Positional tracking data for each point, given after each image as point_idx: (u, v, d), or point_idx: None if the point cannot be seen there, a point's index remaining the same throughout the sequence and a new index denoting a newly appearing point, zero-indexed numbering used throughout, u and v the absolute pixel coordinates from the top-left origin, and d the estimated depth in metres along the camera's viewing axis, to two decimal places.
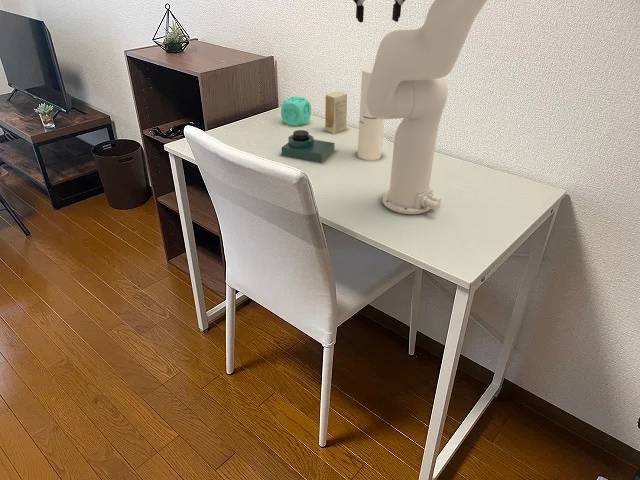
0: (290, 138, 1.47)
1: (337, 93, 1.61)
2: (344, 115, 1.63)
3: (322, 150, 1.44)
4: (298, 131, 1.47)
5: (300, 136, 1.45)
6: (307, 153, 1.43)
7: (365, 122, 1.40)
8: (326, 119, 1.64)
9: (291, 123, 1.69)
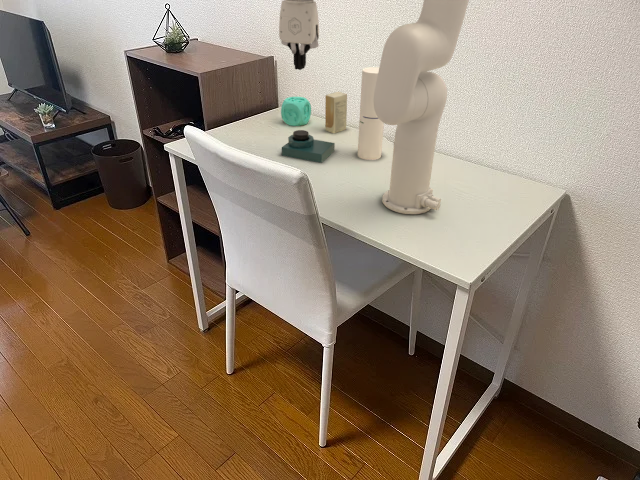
0: (290, 138, 1.47)
1: (337, 93, 1.61)
2: (344, 115, 1.63)
3: (322, 150, 1.44)
4: (298, 131, 1.47)
5: (300, 136, 1.45)
6: (307, 153, 1.43)
7: (365, 122, 1.40)
8: (326, 119, 1.64)
9: (291, 123, 1.69)
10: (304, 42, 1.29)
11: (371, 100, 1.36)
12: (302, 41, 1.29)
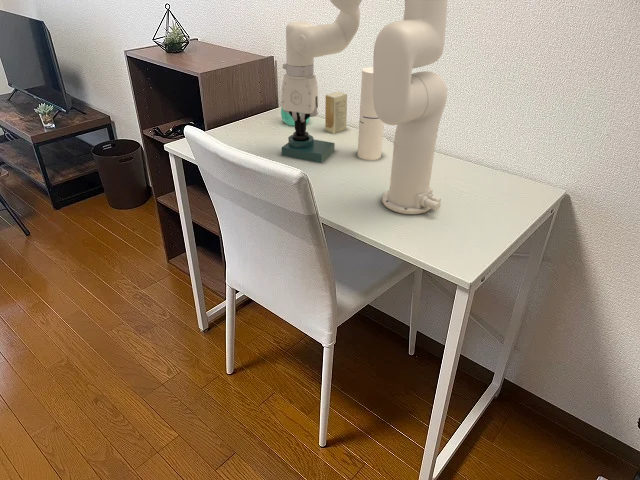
0: (290, 138, 1.47)
1: (337, 93, 1.61)
2: (344, 115, 1.63)
3: (322, 150, 1.44)
4: None
5: (300, 136, 1.45)
6: (307, 153, 1.43)
7: (365, 122, 1.40)
8: (326, 119, 1.64)
9: (291, 123, 1.69)
10: (304, 112, 1.40)
11: (371, 100, 1.36)
12: (303, 111, 1.40)
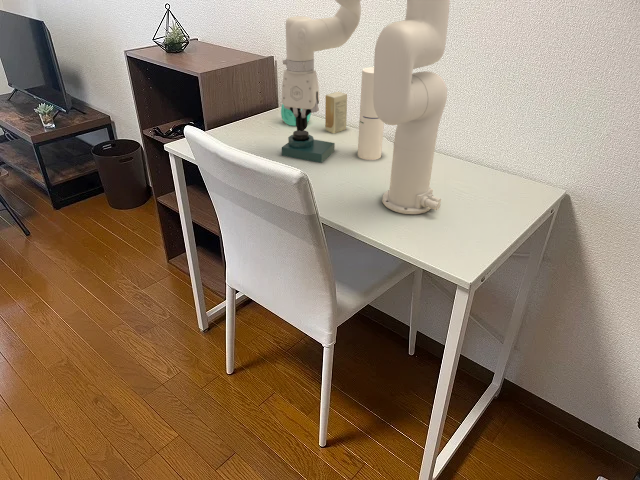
0: (290, 138, 1.47)
1: (337, 93, 1.61)
2: (344, 115, 1.63)
3: (322, 150, 1.44)
4: (298, 131, 1.47)
5: (300, 136, 1.45)
6: (307, 153, 1.43)
7: (365, 122, 1.40)
8: (326, 119, 1.64)
9: (291, 123, 1.69)
10: (305, 107, 1.39)
11: (371, 100, 1.36)
12: (303, 107, 1.39)
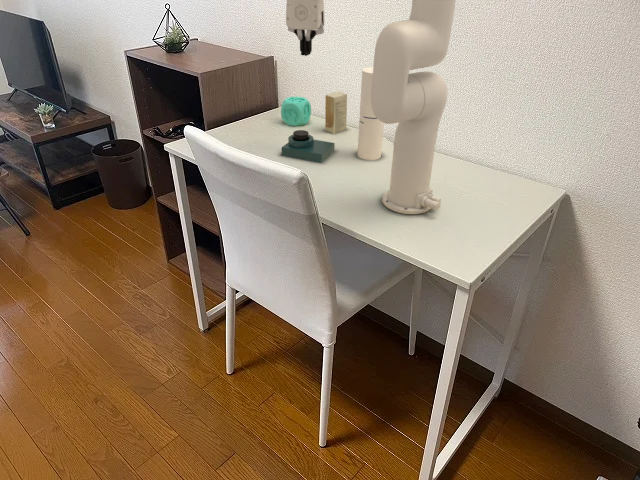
0: (290, 138, 1.47)
1: (337, 93, 1.61)
2: (344, 115, 1.63)
3: (322, 150, 1.44)
4: (298, 131, 1.47)
5: (300, 136, 1.45)
6: (307, 153, 1.43)
7: (365, 122, 1.40)
8: (326, 119, 1.64)
9: (291, 123, 1.69)
10: (310, 28, 1.34)
11: None
12: (308, 27, 1.34)
